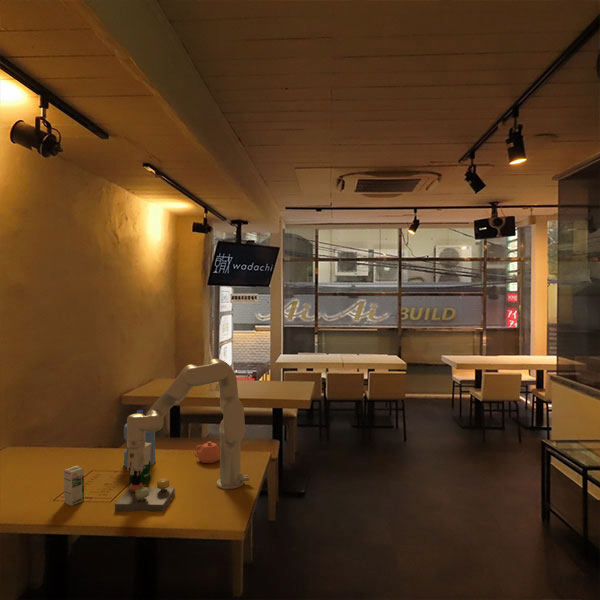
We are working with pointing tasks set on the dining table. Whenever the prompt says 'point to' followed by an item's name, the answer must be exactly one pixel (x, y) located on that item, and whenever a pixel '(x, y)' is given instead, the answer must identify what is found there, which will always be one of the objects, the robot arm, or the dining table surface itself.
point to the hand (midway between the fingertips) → (136, 483)
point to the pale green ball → (142, 493)
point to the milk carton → (145, 466)
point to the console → (146, 500)
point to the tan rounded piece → (163, 484)
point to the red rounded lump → (135, 487)
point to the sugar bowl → (208, 452)
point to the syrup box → (73, 485)
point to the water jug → (148, 438)
